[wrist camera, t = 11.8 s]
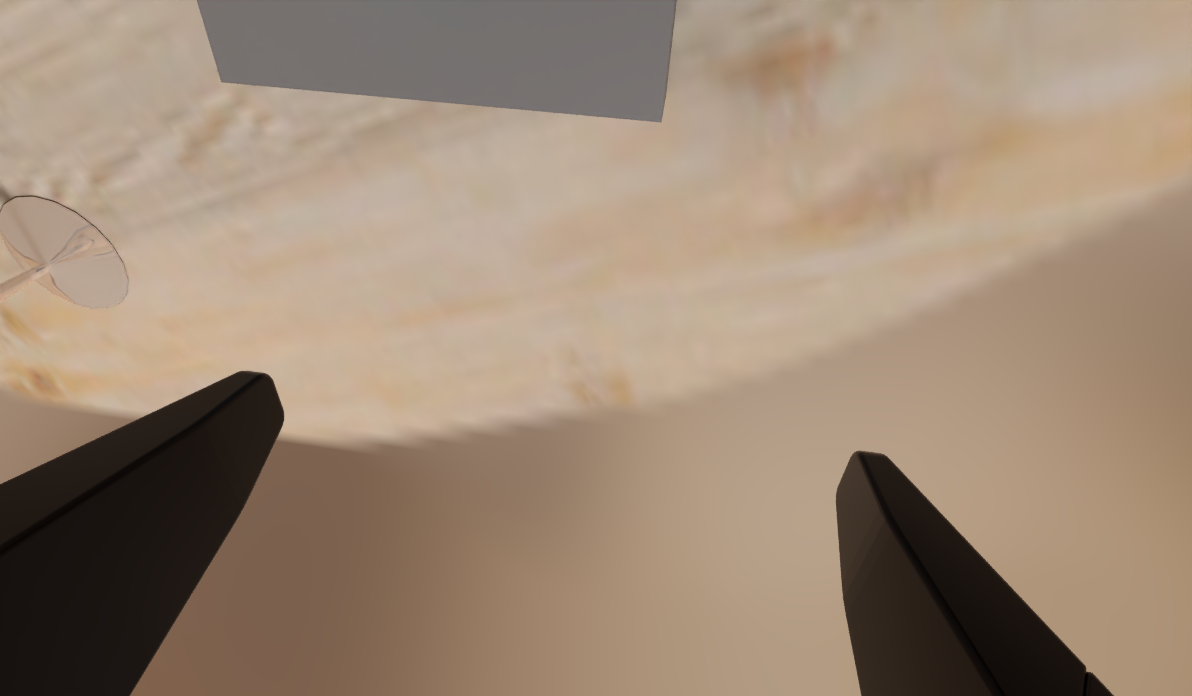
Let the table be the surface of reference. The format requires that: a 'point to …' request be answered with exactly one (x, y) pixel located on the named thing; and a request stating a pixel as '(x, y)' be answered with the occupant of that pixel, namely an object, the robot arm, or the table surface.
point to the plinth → (455, 51)
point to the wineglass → (60, 254)
